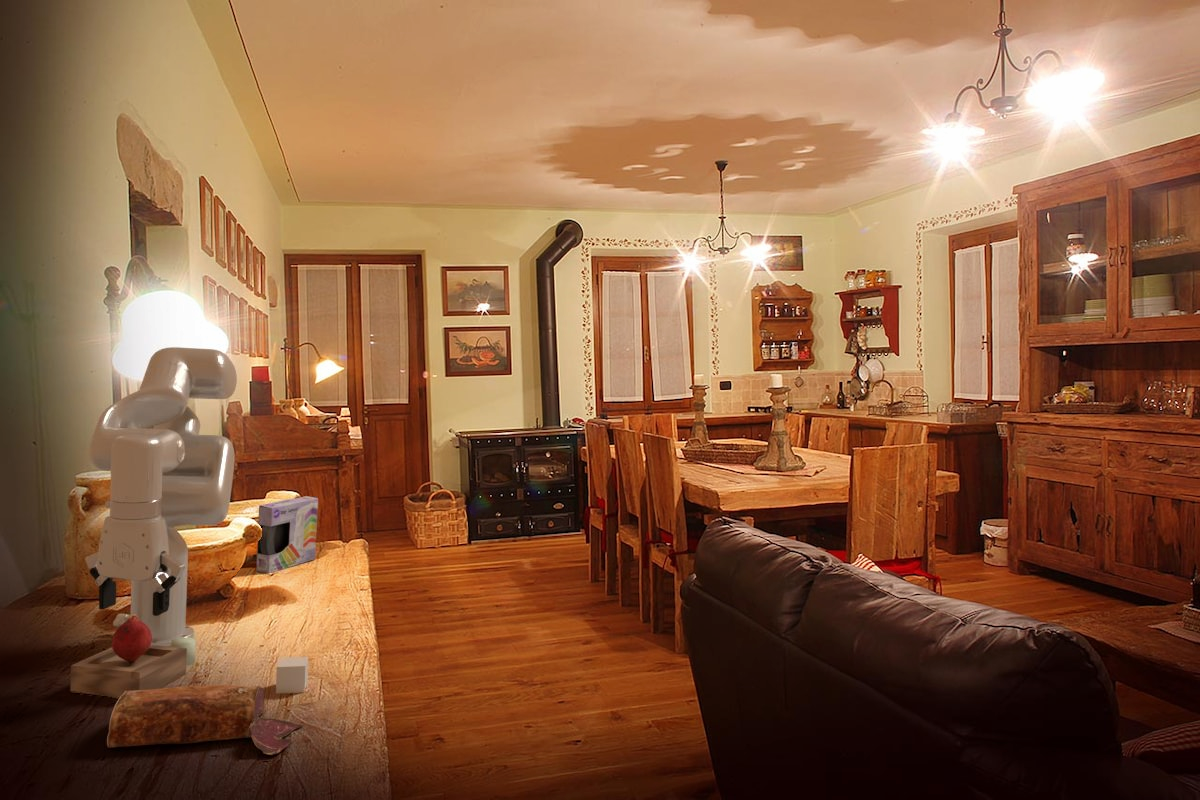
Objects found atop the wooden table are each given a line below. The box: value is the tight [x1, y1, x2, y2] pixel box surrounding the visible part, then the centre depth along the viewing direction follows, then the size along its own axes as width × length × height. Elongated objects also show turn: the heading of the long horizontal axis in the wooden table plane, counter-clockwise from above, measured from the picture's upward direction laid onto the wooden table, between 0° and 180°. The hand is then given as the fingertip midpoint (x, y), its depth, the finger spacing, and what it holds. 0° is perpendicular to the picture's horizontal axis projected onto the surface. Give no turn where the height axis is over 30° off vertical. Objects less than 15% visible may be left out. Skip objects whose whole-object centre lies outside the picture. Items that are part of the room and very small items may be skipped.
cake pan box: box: [255, 495, 319, 574], centre depth 224 cm, size 19×5×18 cm, turn 159°
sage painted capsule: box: [170, 637, 197, 667], centre depth 150 cm, size 4×4×4 cm
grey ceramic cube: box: [275, 656, 309, 694], centre depth 141 cm, size 4×4×4 cm
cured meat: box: [106, 684, 304, 756], centre depth 122 cm, size 18×25×7 cm
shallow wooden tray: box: [69, 645, 187, 699], centre depth 140 cm, size 12×12×4 cm
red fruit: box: [111, 614, 152, 662], centre depth 139 cm, size 6×6×8 cm
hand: (133, 610), depth 140 cm, fingers open, 9 cm apart
